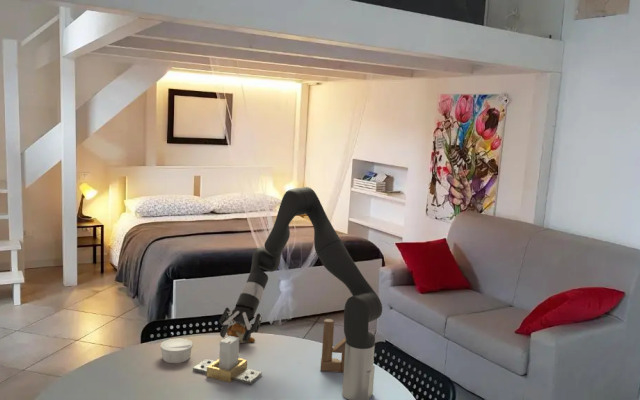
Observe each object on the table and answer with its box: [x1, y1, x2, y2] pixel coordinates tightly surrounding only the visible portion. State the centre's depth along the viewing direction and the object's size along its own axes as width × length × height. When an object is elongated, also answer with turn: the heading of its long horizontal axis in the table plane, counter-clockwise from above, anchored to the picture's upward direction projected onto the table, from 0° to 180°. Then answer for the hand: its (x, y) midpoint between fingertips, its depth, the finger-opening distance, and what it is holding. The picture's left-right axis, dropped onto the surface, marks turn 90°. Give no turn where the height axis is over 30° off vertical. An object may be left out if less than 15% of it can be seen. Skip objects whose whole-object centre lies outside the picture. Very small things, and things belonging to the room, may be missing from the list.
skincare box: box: [218, 335, 240, 371], centre depth 183 cm, size 6×4×12 cm
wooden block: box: [320, 318, 346, 374], centre depth 190 cm, size 4×11×18 cm, turn 89°
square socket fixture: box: [192, 357, 263, 386], centre depth 184 cm, size 22×11×4 cm, turn 69°
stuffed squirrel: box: [226, 319, 256, 344], centre depth 213 cm, size 10×14×13 cm
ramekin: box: [159, 337, 194, 364], centre depth 193 cm, size 11×11×5 cm
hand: (232, 339), depth 185 cm, fingers open, 8 cm apart
